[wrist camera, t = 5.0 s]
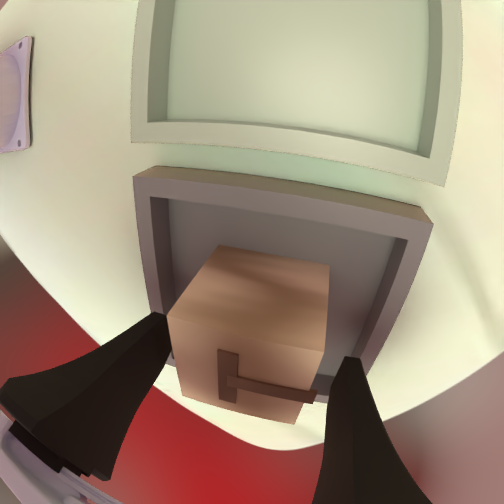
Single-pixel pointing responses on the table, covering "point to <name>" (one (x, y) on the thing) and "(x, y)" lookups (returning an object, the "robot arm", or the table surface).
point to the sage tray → (303, 79)
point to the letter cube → (251, 332)
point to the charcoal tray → (285, 246)
